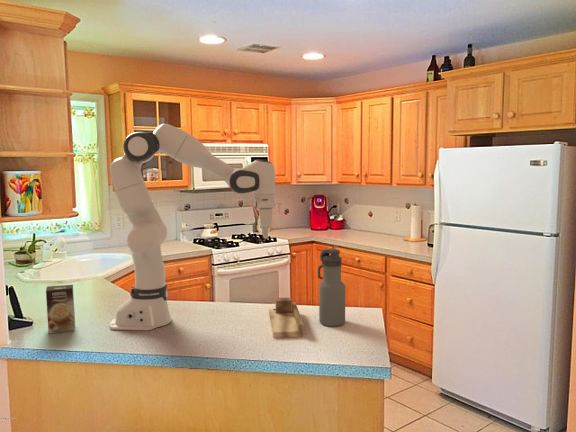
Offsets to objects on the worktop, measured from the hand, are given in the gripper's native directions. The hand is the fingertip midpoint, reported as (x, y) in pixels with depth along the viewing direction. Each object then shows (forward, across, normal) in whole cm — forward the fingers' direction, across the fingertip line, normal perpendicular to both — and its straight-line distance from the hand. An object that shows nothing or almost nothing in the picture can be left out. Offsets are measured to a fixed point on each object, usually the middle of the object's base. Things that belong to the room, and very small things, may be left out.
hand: (265, 236), depth 196 cm
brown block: (+29, +6, +6) cm, 30 cm away
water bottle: (+31, +15, +24) cm, 42 cm away
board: (+31, +15, +6) cm, 35 cm away
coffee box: (+31, +10, -76) cm, 83 cm away
